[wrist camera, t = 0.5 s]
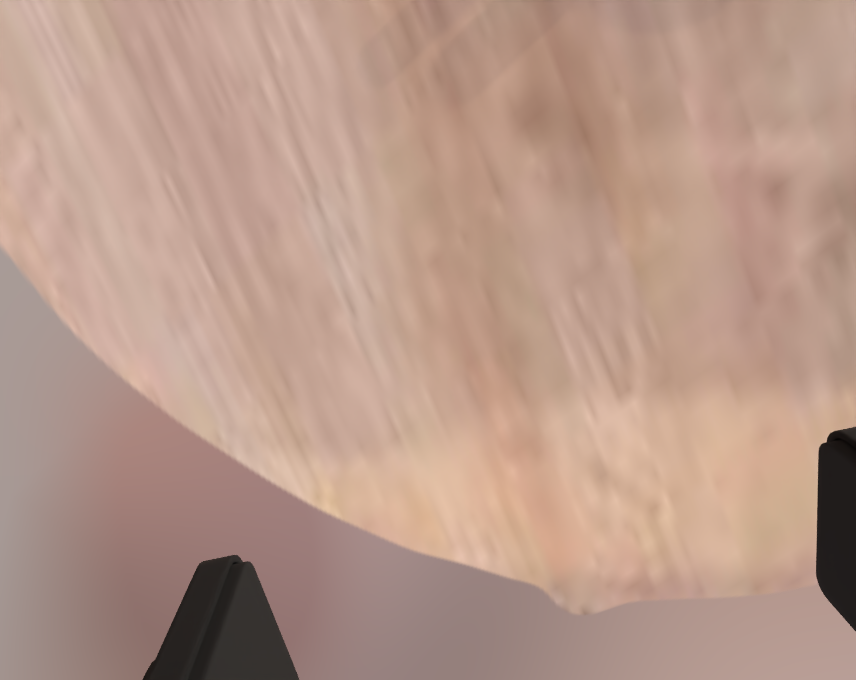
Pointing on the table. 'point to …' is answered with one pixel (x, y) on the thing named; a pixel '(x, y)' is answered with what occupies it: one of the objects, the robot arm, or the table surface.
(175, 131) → the table surface
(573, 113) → the table surface
